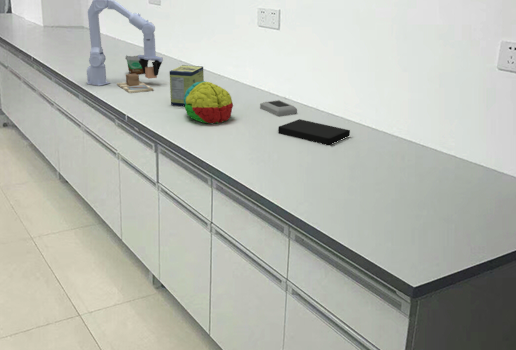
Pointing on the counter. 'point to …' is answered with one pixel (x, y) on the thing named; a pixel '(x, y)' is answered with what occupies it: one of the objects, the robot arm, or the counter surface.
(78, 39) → the counter surface
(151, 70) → the terracotta block
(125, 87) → the baseplate
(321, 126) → the black microchip
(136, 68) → the food container
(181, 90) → the protein box
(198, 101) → the brain model
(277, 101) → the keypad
